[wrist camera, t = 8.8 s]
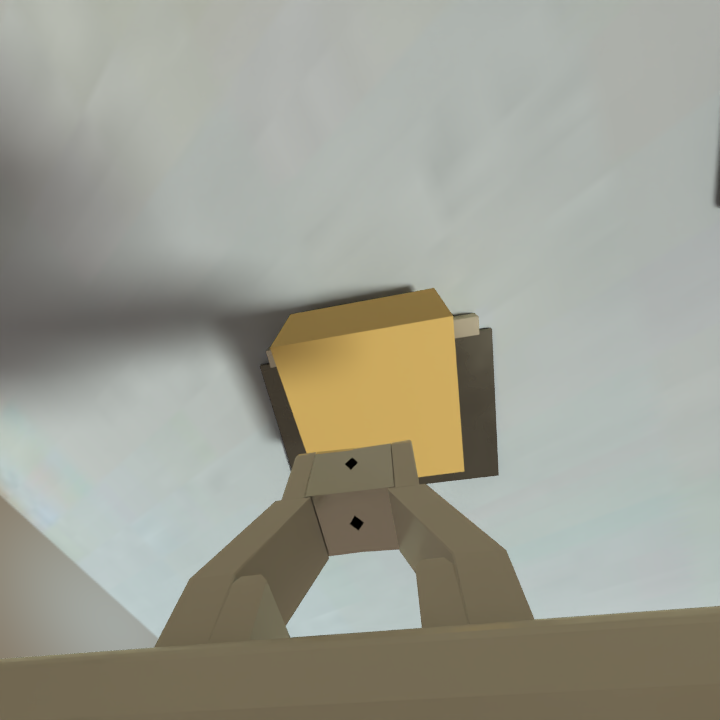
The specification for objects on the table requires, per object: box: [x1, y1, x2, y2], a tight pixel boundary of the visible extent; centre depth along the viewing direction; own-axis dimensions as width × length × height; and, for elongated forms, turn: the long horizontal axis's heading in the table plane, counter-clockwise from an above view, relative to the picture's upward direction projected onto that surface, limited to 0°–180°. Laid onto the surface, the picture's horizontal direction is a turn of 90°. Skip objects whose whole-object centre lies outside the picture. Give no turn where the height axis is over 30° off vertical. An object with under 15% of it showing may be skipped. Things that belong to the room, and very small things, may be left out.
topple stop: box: [260, 313, 498, 484], centre depth 24 cm, size 13×16×1 cm
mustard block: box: [270, 288, 464, 477], centre depth 21 cm, size 5×9×10 cm
